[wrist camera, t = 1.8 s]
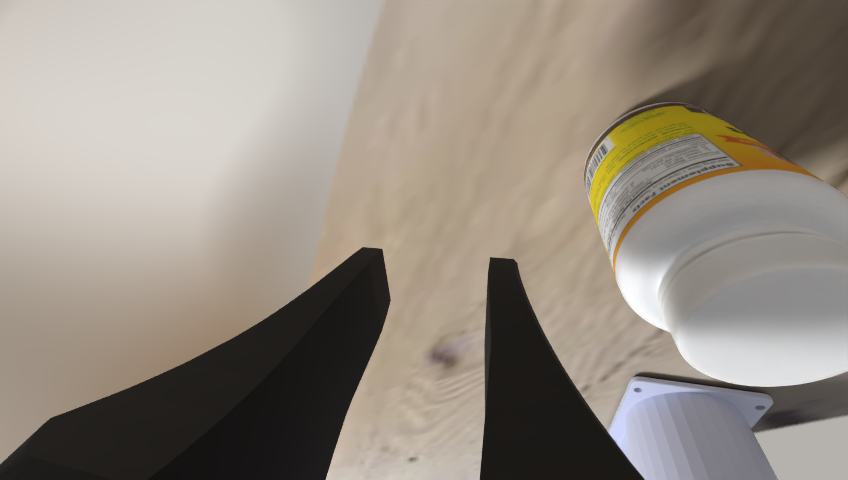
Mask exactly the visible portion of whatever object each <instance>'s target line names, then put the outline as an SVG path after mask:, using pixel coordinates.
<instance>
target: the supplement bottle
mask: <svg viewBox="0 0 848 480" xmlns="http://www.w3.org/2000/svg"><path fill="white" fill-rule="evenodd" d="M584 183H585V188H586V192H587V195H588V198H589V201H590V204H591V207H592V210H593V213H594V216H595V219H596V222H597V225H598V228H599V231H600V234H601V237H602V240H603V243H604V246H605V249H606V252H607V255H608V258H609V261H610V264H611V267H612V270H613V272H614V275H615V278H616V281H617V284H618V286H619V288H620V291H621V293H622V295H623V296H624V298H625V300H626V301H627V303H628V304H629V305H630V307H631V308H632V309H633V310H634V311H635V312H636V313H637V314H638V315H639V316H641V317H642V318H643V319H644V320H646V321H648V322H649V323H651V324H653V325H654V326H656V327H659V328H661V329H663V330H666V331H668V332H671V334H672V336H673V339H674V341H675V343H676V345H677V347H678V349H679V351H680V353H681V355H682V356H683V358H684V359H685V360H686V361H687V362H688V363H689V364H690V365H692V366H693V367H694V368H695V369H697V370H698V371H700V372H702V373H704V374H706V375H708V376H710V377H713V378H716V379H718V380H722V381H725V382H728V383H734V384H739V385H746V386H760V387H774V386H789V385H798V384H804V383H809V382H814V381H818V380H822V379H826V378H829V377H833V376H836V375H839V374H842V373H844V372H847V371H848V198H847V197H846V196H845V195H843V194H842V193H841V192H839V191H838V190H836V189H835V188H834V187H832V186H830V185H829V184H827V183H826V182H824V181H823V180H821V179H819V178H818V177H816V176H814V175H813V174H811V173H809V172H808V171H806V170H804V169H803V168H801V167H799V166H798V165H796V164H794V163H793V162H791V161H790V160H788V159H786V158H785V157H783V156H781V155H780V154H778V153H776V152H775V151H773V150H771V149H770V148H768V147H766V146H765V145H763V144H761V143H760V142H758V141H756V140H755V139H753V138H752V137H750V136H748V135H747V134H745V133H743V132H742V131H740V130H739V129H737V128H735V127H734V126H732V125H730V124H729V123H727V122H725V121H723V120H722V119H720V118H719V117H717V116H715V115H714V114H712V113H710V112H708V111H706V110H705V109H702V108H700V107H697V106H694V105H691V104H686V103H680V102H664V103H656V104H652V105H648V106H644V107H641V108H638V109H636V110H634V111H631V112H629V113H627V114H626V115H624V116H622V117H621V118H619V119H617V120H616V121H615V122H613V123H612V124H611V125H610V126H608V127H607V128H606V129H605V130H604V131H603V132H602V133H601V135H600V136H599V137H598V138H597V139H596V141H595V142H594V144H593V146H592V147H591V149H590V151H589V153H588V156H587V159H586V162H585V167H584Z"/></svg>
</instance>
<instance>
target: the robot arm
mask: <svg viewBox="0 0 848 480" xmlns="http://www.w3.org/2000/svg"><path fill="white" fill-rule="evenodd" d="M390 301H391V299H390V293H389V287H388V281H387V275H386V269H385V262H384V256H383V250H382V249H378V248H365V247H363V248H361V249H360V250H358V251H357V252H356V253H354V254H353V255H352V256H350V257H349V258H348V259H347V260H345V261H344V262H343V263H342V264H340V265H339V266H338V267H336V268H335V269H334V270H333V271H331V272H330V273H329V274H328V275H326V276H325V277H324V278H322V279H321V280H320V281H318V282H317V283H316V284H315V285H313V286H312V287H311V288H309V289H308V290H307V291H305V292H304V293H302V294H301V295H299V296H298V297H297V298H295V299H294V300H292V301H291V302H289V303H288V304H287V305H285V306H284V307H282V308H281V309H279V310H278V311H277V312H275V313H274V314H272V315H270V316H269V317H268V318H266V319H264V320H263V321H261V322H259V323H258V324H256V325H255V326H253V327H251V328H249V329H248V330H246V331H244V332H243V333H241V334H239V335H238V336H236V337H234V338H232V339H231V340H229V341H227V342H225V343H223V344H221V345H219V346H217V347H215V348H213V349H211V350H209V351H208V352H205V353H204V354H202V355H200V356H198V357H196V358H194V359H192V360H190V361H188V362H186V363H184V364H182V365H180V366H178V367H175V368H173V369H171V370H169V371H167V372H164V373H162V374H160V375H158V376H155V377H153V378H151V379H149V380H146V381H144V382H142V383H139V384H137V385H135V386H132V387H130V388H128V389H125V390H123V391H120V392H118V393H115V394H113V395H110V396H108V397H105V398H102V399H100V400H97V401H95V402H92V403H90V404H87V405H84V406H82V407H79V408H76V409H74V410H71V411H69V412H66V413H63V414H61V415H58V416H55V417H52V418H50V419H49V420H48V421H47V422H46V423H44V424H43V425H42V426H41V427H40V428H39V429H38V430H37V431H36V432H35V433H34V434H33V435H31V436H30V437H29V438H28V439H27V440H26V441H25V442H24V443H23V444H22V445H21V446H20V447H19V448H17V449H16V450H15V451H14V452H13V453H12V454H11V455H10V456H9V457H8V458H7V459H6V460H5V461H3V462H2V463H1V464H0V480H326V476H327V473H328V470H329V467H330V463H331V460H332V457H333V453H334V450H335V447H336V444H337V441H338V438H339V435H340V432H341V429H342V426H343V423H344V420H345V416H346V414H347V411H348V409H349V406H350V403H351V401H352V398H353V396H354V394H355V392H356V389H357V387H358V385H359V382H360V380H361V378H362V376H363V373H364V371H365V369H366V366H367V364H368V362H369V360H370V357H371V355H372V353H373V350H374V348H375V346H376V343H377V341H378V339H379V336H380V334H381V332H382V329H383V325H384V322H385V319H386V315H387V312H388V308H389V305H390ZM773 403H774V402H773V400H772V398H771V397H770V396H769V395H767V394H763V393H756V392H749V391H742V390H734V389H727V388H720V387H713V386H705V385H698V384H691V383H684V382H676V381H669V380H662V379H654V378H647V377H638V376H637V377H634V378H632V379H631V381H630V383H629V385H628V387H627V389H626V392H625V394H624V396H623V398H622V401H621V403H620V405H619V407H618V410H617V412H616V414H615V416H614V419H613V421H612V423H611V425H610V428H609V430H608V432H607V430H606V429H605V428H604V426H603V425H602V424H601V422H600V421H599V420H598V418H597V417H596V416H595V414H594V413H593V412H592V410H591V409H590V407H589V406H588V404H587V403H586V401H585V400H584V398H583V397H582V395H581V394H580V393H579V391H578V390H577V388H576V387H575V385H574V383H573V382H572V380H571V379H570V377H569V376H568V374H567V372H566V371H565V369H564V368H563V366H562V364H561V363H560V361H559V359H558V358H557V356H556V354H555V352H554V351H553V349H552V347H551V345H550V343H549V341H548V339H547V338H546V336H545V334H544V332H543V330H542V328H541V326H540V324H539V322H538V320H537V317H536V315H535V313H534V311H533V309H532V307H531V304H530V302H529V300H528V297H527V295H526V292H525V289H524V287H523V284H522V281H521V278H520V274H519V270H518V265H517V262H516V261H515V260H514V259H505V258H492V257H490V263H489V270H488V285H487V306H486V326H485V424H484V436H483V448H482V460H481V472H480V480H778V479H777V477H776V475H775V473H774V471H773V470H772V467H771V466H770V464H769V462H768V460H767V458H766V456H765V454H764V452H763V451H762V449H761V447H760V445H759V443H758V441H757V439H756V437H755V435H754V434H753V432H752V430H751V428H752V427H753V426H754V425H755V424H756V423H757V422H758V420H759V419H760V418H761V417H762V416H763V415H764V414H765V413H766V411H767V410H768V409H769V408H770V407H771V406H772V405H773Z"/></svg>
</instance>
